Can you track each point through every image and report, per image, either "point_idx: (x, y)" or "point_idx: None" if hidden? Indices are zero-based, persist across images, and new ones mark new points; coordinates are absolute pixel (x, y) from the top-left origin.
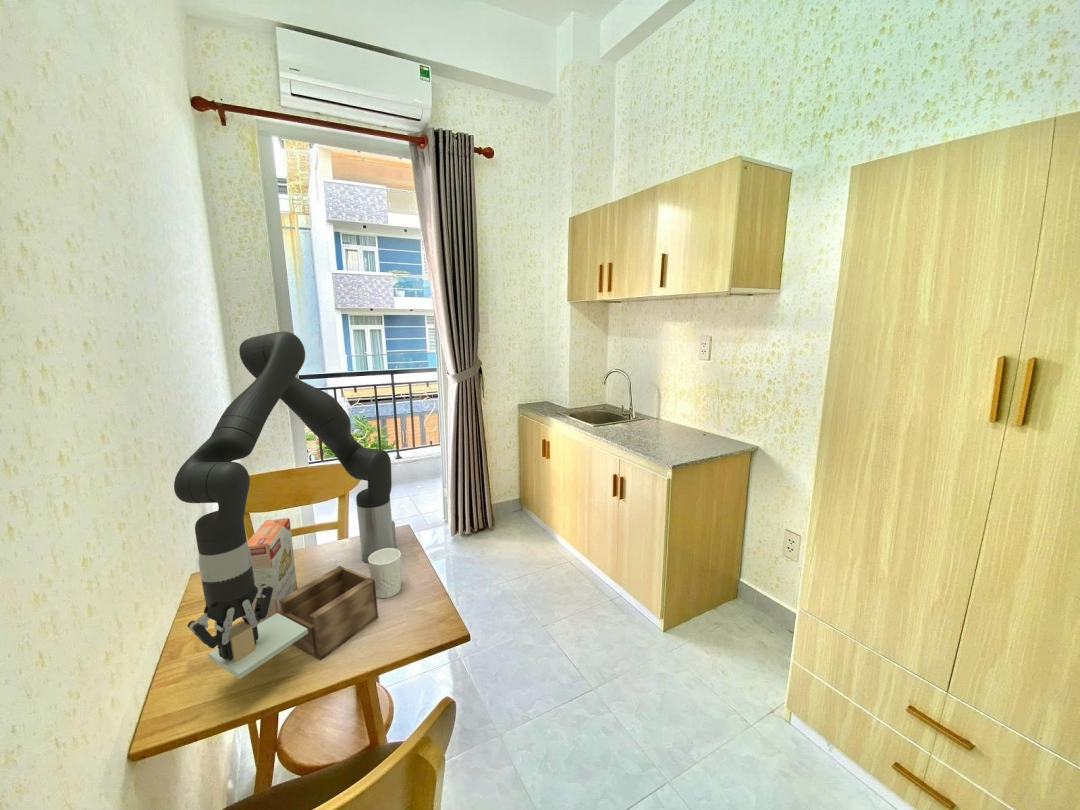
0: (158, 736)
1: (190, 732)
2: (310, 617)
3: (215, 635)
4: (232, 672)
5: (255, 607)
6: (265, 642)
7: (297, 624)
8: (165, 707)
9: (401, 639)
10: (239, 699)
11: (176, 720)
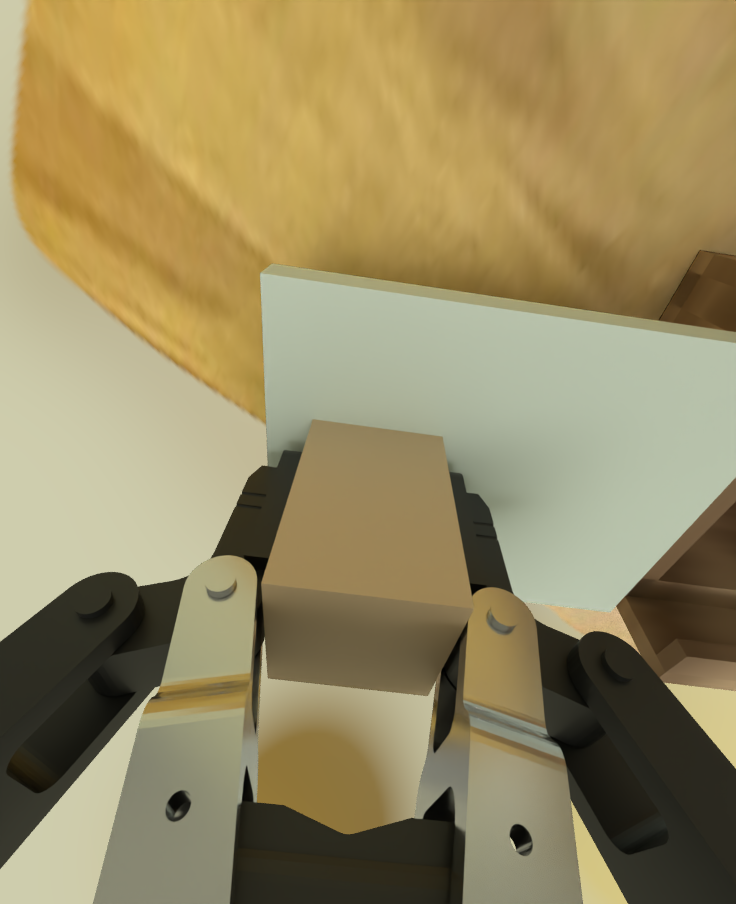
0: (82, 248)
1: (173, 352)
2: (675, 646)
3: (178, 621)
4: None
5: (636, 752)
6: None
7: (650, 561)
8: (125, 57)
9: None
10: None
11: (150, 233)
